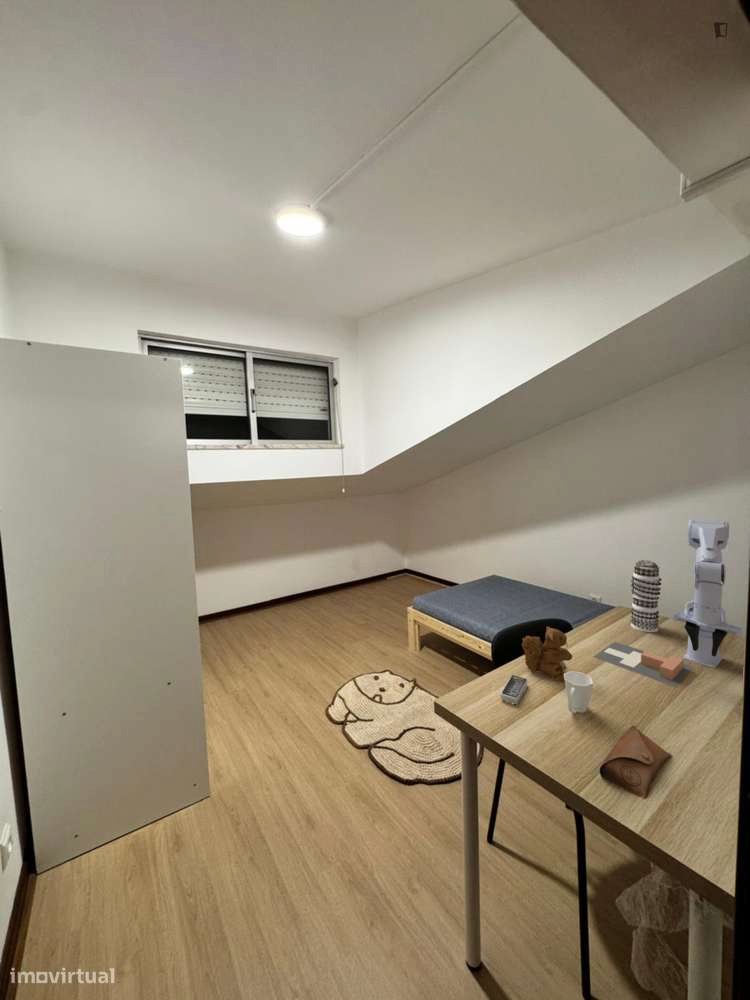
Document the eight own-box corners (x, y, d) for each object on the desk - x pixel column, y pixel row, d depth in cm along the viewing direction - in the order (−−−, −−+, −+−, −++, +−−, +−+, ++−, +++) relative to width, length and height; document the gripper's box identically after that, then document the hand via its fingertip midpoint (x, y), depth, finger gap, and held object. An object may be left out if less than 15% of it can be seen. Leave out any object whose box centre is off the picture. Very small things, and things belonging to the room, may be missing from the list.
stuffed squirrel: (573, 683, 112) (574, 639, 111) (521, 675, 118) (521, 633, 116) (570, 666, 121) (570, 625, 120) (521, 658, 127) (521, 620, 125)
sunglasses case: (647, 802, 73) (628, 764, 75) (611, 799, 78) (594, 763, 80) (673, 753, 85) (655, 721, 87) (640, 753, 90) (624, 723, 92)
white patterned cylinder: (661, 634, 140) (664, 566, 137) (630, 629, 144) (632, 563, 142) (658, 624, 148) (660, 560, 145) (629, 620, 152) (631, 557, 150)
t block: (648, 656, 124) (649, 647, 124) (683, 668, 117) (683, 658, 117) (636, 667, 118) (636, 658, 118) (672, 680, 111) (672, 670, 111)
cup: (596, 706, 102) (596, 677, 101) (585, 726, 94) (585, 695, 94) (567, 695, 107) (567, 667, 106) (554, 714, 99) (555, 684, 98)
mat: (614, 642, 135) (614, 641, 135) (694, 668, 118) (694, 667, 118) (593, 658, 126) (593, 656, 126) (676, 688, 108) (676, 687, 108)
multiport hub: (500, 701, 106) (500, 693, 106) (511, 681, 115) (511, 674, 114) (516, 706, 103) (516, 698, 103) (527, 686, 112) (527, 678, 112)
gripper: (670, 601, 111) (668, 647, 112) (739, 616, 99) (736, 667, 101) (678, 595, 115) (676, 639, 116) (745, 609, 103) (742, 658, 105)
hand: (704, 652), depth 109 cm, fingers open, 3 cm apart
